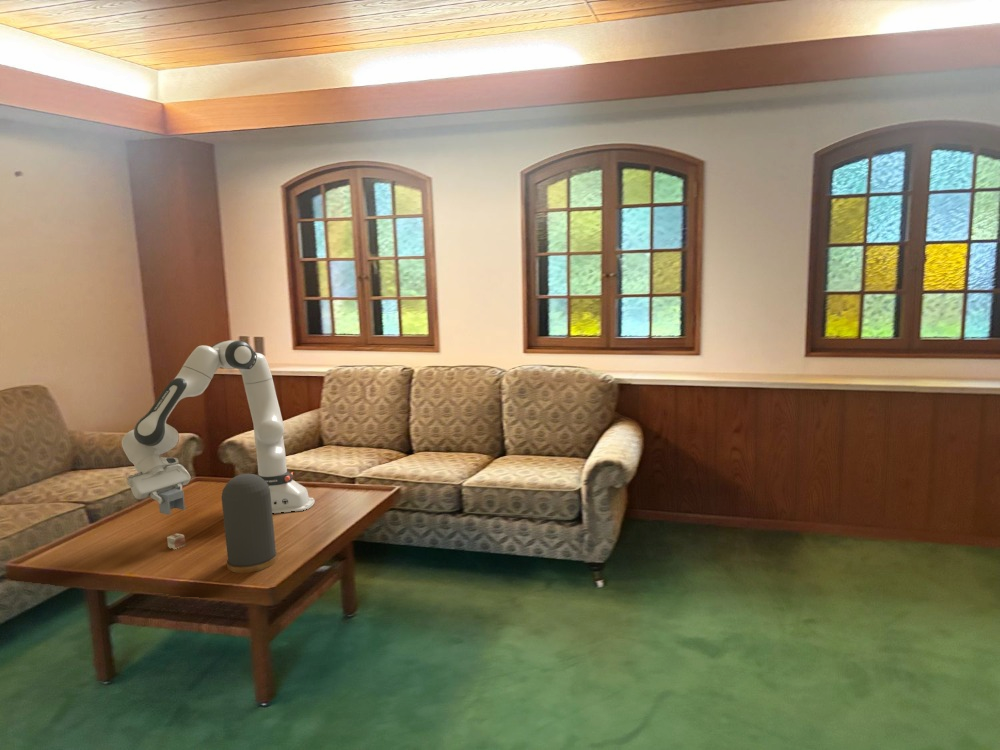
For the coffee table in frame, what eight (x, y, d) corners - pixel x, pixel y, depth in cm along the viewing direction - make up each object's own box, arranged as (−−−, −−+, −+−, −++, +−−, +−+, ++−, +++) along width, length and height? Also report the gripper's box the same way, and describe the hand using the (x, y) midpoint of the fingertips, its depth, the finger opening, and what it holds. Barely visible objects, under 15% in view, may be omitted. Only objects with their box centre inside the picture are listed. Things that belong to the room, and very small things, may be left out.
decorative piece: (286, 553, 236) (278, 467, 232) (263, 573, 221) (254, 482, 216) (243, 552, 239) (234, 467, 234) (217, 571, 224) (208, 481, 219)
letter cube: (178, 543, 249) (177, 533, 248) (185, 545, 247) (184, 534, 246) (168, 547, 246) (166, 536, 245) (175, 549, 244) (174, 538, 243)
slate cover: (175, 507, 249) (173, 488, 248) (185, 509, 246) (183, 490, 245) (159, 512, 244) (157, 493, 243) (169, 515, 241) (167, 495, 240)
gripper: (127, 471, 237) (147, 503, 234) (180, 456, 254) (200, 485, 251) (120, 482, 240) (141, 514, 237) (174, 467, 257) (194, 496, 254)
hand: (172, 499), depth 244 cm, fingers closed on slate cover, 6 cm apart
